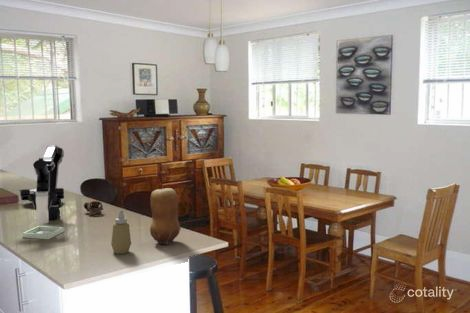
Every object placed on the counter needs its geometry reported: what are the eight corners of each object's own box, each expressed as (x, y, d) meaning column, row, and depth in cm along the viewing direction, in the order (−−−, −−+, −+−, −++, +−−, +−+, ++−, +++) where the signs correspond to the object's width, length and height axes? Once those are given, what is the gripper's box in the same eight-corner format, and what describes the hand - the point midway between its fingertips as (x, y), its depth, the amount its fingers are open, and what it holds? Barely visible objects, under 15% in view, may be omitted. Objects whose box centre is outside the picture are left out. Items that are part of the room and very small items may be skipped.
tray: (22, 238, 202) (22, 232, 202) (39, 231, 214) (38, 225, 214) (48, 240, 200) (48, 234, 200) (63, 232, 213) (63, 227, 212)
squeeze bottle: (113, 249, 191) (112, 207, 189) (132, 249, 191) (132, 207, 189) (109, 255, 183) (109, 212, 181) (129, 255, 183) (129, 212, 181)
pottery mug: (106, 212, 256) (106, 202, 252) (98, 223, 249) (97, 212, 244) (87, 206, 258) (87, 195, 253) (78, 216, 250) (78, 205, 246)
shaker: (33, 223, 206) (32, 192, 205) (43, 220, 211) (42, 191, 210) (42, 224, 204) (41, 194, 203) (51, 222, 209) (50, 192, 207)
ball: (40, 237, 202) (40, 230, 202) (45, 235, 205) (44, 228, 205) (47, 238, 201) (47, 231, 201) (51, 236, 205) (51, 229, 204)
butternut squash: (153, 238, 208) (153, 185, 205) (182, 239, 207) (182, 186, 204) (146, 247, 194) (147, 190, 191) (177, 248, 193) (178, 191, 191)
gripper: (64, 190, 224) (64, 217, 215) (23, 191, 218) (21, 219, 209) (63, 177, 216) (63, 204, 206) (21, 178, 209) (19, 206, 200)
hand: (42, 209), depth 206 cm, fingers closed on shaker, 5 cm apart
